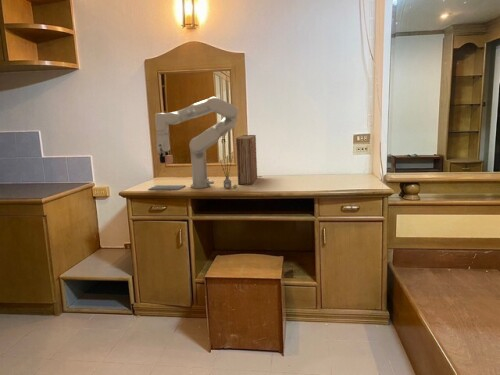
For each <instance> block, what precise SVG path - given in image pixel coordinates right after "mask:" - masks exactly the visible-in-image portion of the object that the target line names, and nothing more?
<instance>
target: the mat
mask: <svg viewBox="0 0 500 375" xmlns="http://www.w3.org/2000/svg"><path fill="white" fill-rule="evenodd" d="M184 188H186V185H185V184H184V185H176V184H175V185H171V184H169V185H168V184H167V185H164V184H163V185H162V184H161V185H155V186H152V187H150V188H148V191H179V190H181V189H184Z"/></svg>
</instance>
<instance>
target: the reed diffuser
mask: <svg viewBox="0 0 500 375" xmlns="http://www.w3.org/2000/svg"><path fill="white" fill-rule="evenodd" d="M231 158H234V157H233V155H232V156H231ZM218 159H219V162H220V164H221V167H222V170H223V172H224V175H225V179H224V180H223V188H226V189H227V188H232V187H233V189H237V188H238V185H237V184H234V185H233V186H232V180H231V179H230V177H229V175H230V173H229V172H230V170H231V168H229V167H232V166H231V165H232V161H233V159H231V160H230V164H228V163H229V162H228V159H229V158H228V155H227V156H226V160H227V161H226V160H225V159H223V161H224V163H226V165H224V167H225V169H224V167H223V163H222V161H221V159H220V157H218ZM228 165H229V167H228ZM228 168H229V170H228ZM225 170H226V171H225Z"/></svg>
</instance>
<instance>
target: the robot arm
mask: <svg viewBox="0 0 500 375" xmlns="http://www.w3.org/2000/svg"><path fill="white" fill-rule="evenodd" d="M238 109H239V108H238V107H237V106H236V105H234V104H231V102H230V103H229V102H227V101H226V100H223V99H220V98H218V97H217V96H211V97H209V98H206V99H203V100H200V101H197V102H195V103H192V104H191V105H189V106H186V107H184V108H182V109H179V110H176V111H172V112H171V111H170V112H156V113H155V115H154V118H155V120H154V122H155V131H156V151H157V153H158V156H160V163H165V156H164V155H170V150H171V144H170V138H169V136H170V132H169V129H170V128H169V125H177V124H180V123H184V122H186V121H189V120H191V119H196V118H200V117H202V116H206V115H208V114H211V113H216V114H218V115H220V116H223V117H222V119H221V120H219V121H218V122H217V123H215V124H214V125H212V126H210V127H209V128H207V129H205V130H204V131H203V132H201V133H200V134H198V135H197V136H195V137H192V139H190V141H189V145H188V146H189V149H190V150H189V151H190V160H191V176H192V184H189V185H190V188H191V189H192V188H193V189H204V188H209V187H211V185H213V184H215V181H214V180H210V179H209V178H208V166H207V149H209V148H211V147H212V146H213V145H215V144H217V142H218V141H219V140H220V139H221V138H222V137H223V136H225V135H226V134H228V132H230V131H232V130H233V129H234V127H235V125H236V124H237V123H238V114H239V110H238Z"/></svg>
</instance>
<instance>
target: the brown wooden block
mask: <svg viewBox="0 0 500 375" xmlns="http://www.w3.org/2000/svg"><path fill="white" fill-rule="evenodd" d="M256 135H257V134H251V135H250V134H245V135H240V136H237V137H235V146H236V165H237V184H238V185H239V186H240V185H243V184H244V185H247V184H248V185H250V184H251V185H253V184H254V183H255V182H256V180H257V179H258V166H257V164H258V163H257V138H256ZM238 185H237V186H238Z"/></svg>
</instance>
